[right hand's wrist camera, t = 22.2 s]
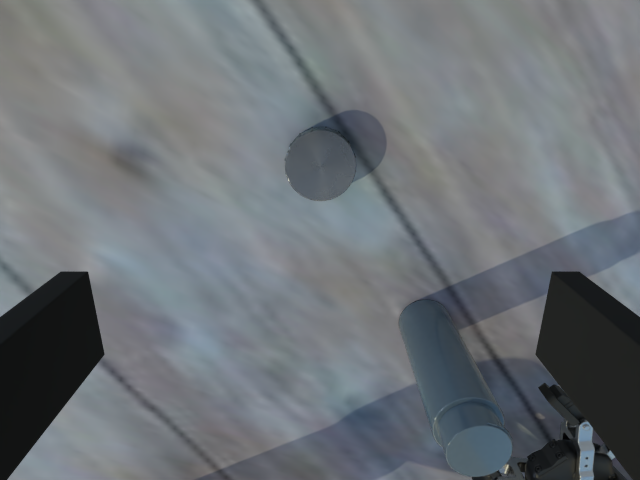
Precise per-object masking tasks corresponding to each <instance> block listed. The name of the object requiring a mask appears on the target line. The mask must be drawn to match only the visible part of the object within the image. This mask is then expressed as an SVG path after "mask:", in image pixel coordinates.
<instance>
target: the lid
mask: <svg viewBox="0 0 640 480" xmlns="http://www.w3.org/2000/svg"><path fill="white" fill-rule="evenodd" d="M289 147H290V148H289V151H288V153H287V156H286V158H285V171H286V175H287V178H288V181H289V183H290V184H291V186H292V187H293V188H294V190H295V191H296V192H298V193H299V194H300V195H302V196H303V197H305V198H308V199H311V200H315V201H326V200H331V199H333V198H336V197H338V196H339V195H341V194H342V193H343V192H345V191H346V190H347V188H348V187H349V186H350V184H351V183H352V181H353V179H354V176H355V172H356V160H355V158H356V156H355V154H354V153H353V150H352V148H351V146H350V142H349V141H347V140H346V139H345V137H344V136H342V135H341V134H340V132H339V131H338V132H337V131H335V130H332V129H329V128H327V127H325V128H324V127H317V128H313V127H312V128H311V129H309V130H306V131H304V132H303V133H300V134H299V136H298V137H297V138H295V140H294V141H293V142H292V143H291V144H290V146H289Z"/></svg>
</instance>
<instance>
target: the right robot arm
mask: <svg viewBox="0 0 640 480" xmlns="http://www.w3.org/2000/svg"><path fill="white" fill-rule="evenodd" d="M103 356H104V350H103V345H102V340H101V335H100V330H99V325H98V320H97V315H96V310H95V305H94V300H93V294H92V289H91V284H90V279H89V274H88V272H60V273H58V274H57V275H56V276H54V277H53V278H52V279H50V280H49V281H48V282H46V283H45V284H44V285H42V286H41V287H40V288H38V289H37V290H36V291H34V292H33V293H32V294H30V295H29V296H28V297H26V298H25V299H24V300H22V301H21V302H20V303H18V304H17V305H16V306H14V307H13V308H12V309H10V310H9V311H8V312H6V313H5V314H4V315H2V316H1V317H0V480H7V479H8V478H9V476H10V475H11V474H12V473H13V471H14V470H15V469H16V467H17V466H18V465H19V464H20V462H21V461H22V460H23V458H24V457H25V456H26V455H27V453H28V452H29V451H30V449H31V448H32V447H33V446H34V444H35V443H36V442H37V440H38V439H39V438H40V437H41V435H42V434H43V433H44V431H45V430H46V429H47V428H48V426H49V425H50V424H51V422H52V421H53V420H54V419H55V417H56V416H57V415H58V413H59V412H60V411H61V410H62V408H63V407H64V406H65V404H66V403H67V402H68V401H69V399H70V398H71V397H72V395H73V394H74V393H75V392H76V390H77V389H78V388H79V386H80V385H81V384H82V383H83V381H84V380H85V379H86V377H87V376H88V375H89V374H90V372H91V371H92V370H93V368H94V367H95V366H96V365H97V363H98V362H99V361H100V359H101V358H102V357H103ZM536 356H537V357H538V358H539V359H540V361H541V362H542V363H543V365H544V366H545V367H546V368H547V370H548V371H549V372H550V374H551V375H552V376H553V377H554V379H555V380H556V381H557V383H558V384H559V385H560V386H561V388H562V389H563V390H564V392H565V393H566V394H567V395H568V397H569V398H570V399H571V401H572V402H573V403H574V404H575V406H576V407H577V408H578V410H579V411H580V412H581V413H582V415H583V416H584V417H585V419H586V420H587V421H588V422H589V424H590V425H591V426H592V428H593V429H594V430H595V431H596V433H597V434H598V435H599V437H600V438H601V439H602V440H603V442H604V443H605V444H606V446H607V447H608V448H609V449H610V451H611V452H612V453H613V455H614V456H615V457H616V458H617V460H618V461H619V462H620V464H621V465H622V466H623V467H624V469H625V470H626V471H627V473H628V474H629V475H630V476H631V478H632V479H633V480H640V317H639V316H638V315H636V314H635V313H634V312H632V311H631V310H630V309H628V308H627V307H626V306H624V305H623V304H622V303H620V302H619V301H618V300H616V299H615V298H614V297H612V296H611V295H610V294H608V293H607V292H606V291H604V290H603V289H602V288H600V287H599V286H598V285H596V284H595V283H594V282H592V281H591V280H590V279H588V278H587V277H586V276H584V275H583V274H582V273H580V272H552V274H551V279H550V284H549V289H548V294H547V300H546V305H545V310H544V315H543V320H542V325H541V330H540V335H539V340H538V345H537V350H536Z"/></svg>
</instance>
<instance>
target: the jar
mask: <svg viewBox="0 0 640 480" xmlns="http://www.w3.org/2000/svg"><path fill="white" fill-rule="evenodd" d="M399 329H400V332H401V336H402V339H403V342H404V345H405V348H406V351H407V355H408V358H409V361H410V364H411V367H412V370H413V374H414V377H415V380H416V383H417V386H418V389H419V393H420V396H421V399H422V402H423V405H424V408H425V412H426V415H427V418H428V421H429V424H430V427H431V431H432V434H433V437H434V439H435V440H436V442H437V443H438V444H439V445H440V446H441V447H442V448H443V451H444V454H445V457H446V460H447V462H448V464H449V466H450V467H451V468H452V469H453V470H454V471H456V472H458V473H459V474H462V475H465V476H470V477H480V476H486V475H489V474H492V473H494V472H496V471H498V470H499V469H501V468H502V467H503V466H504V465H505V464H506V463H507V462H508V461H509V459H510V457H511V454H512V449H513V447H512V446H513V443H512V437H511V436H510V434H509V432H508V431H507V430H506V429H505V428H504V424H505V420H504V415H503V413H502V411H501V409H500V407H499V405H498V403H497V401H496V400H495V398H494V396H493V394H492V392H491V390H490V389H489V387H488V385H487V383H486V381H485V379H484V378H483V376H482V374H481V372H480V370H479V368H478V367H477V365H476V363H475V361H474V359H473V357H472V356H471V354H470V352H469V350H468V348H467V346H466V345H465V343H464V341H463V339H462V337H461V335H460V334H459V332H458V330H457V328H456V326H455V324H454V322H453V321H452V319H451V317H450V315H449V313H448V311H447V310H446V308H445V307H444V306H443V305H441V304H440V303H438V302H436V301H433V300H419V301H416V302H413V303H412V304H410V305H409V306H407V307H406V308H405V309H404V310H403V312H402V313H401V315H400V318H399Z"/></svg>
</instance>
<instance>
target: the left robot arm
mask: <svg viewBox="0 0 640 480" xmlns="http://www.w3.org/2000/svg"><path fill="white" fill-rule="evenodd" d="M538 388H539V389H540V391H541V392H542V394H543V395H544V396H545V398H546V399H547V401H548V402H549V403H550V404H551V405H552V406H553V407H554V408H555V409H556V410H557V411H558V412H559V413H560V414H561V415H562V416H563V417H564V422H561V428H560V440H557V441H556V440H555V439H553V440H552V441H550V442H549V443H547V444H546V445H545V446H544V447H543V448H542V449H541V450H539V451H536V452H534V453H532V454H531V455H529V456H528V457H527V458H528V459H524V458H515V457H510V459H509V461H508V462H507V463H506V464H505V465H504V466H503V467H502V468H501V469H499V470H498V471H496V472H494V473H492V474H489V475H486V476H480V477H472V480H627V479H626V478H625V477H624V476H623V475H622V474H621V473H620V472H619V471H618V470H616V469H615V468H614V467H613V466H612V459H614V458H616V457H615V456H614V455H613V453H612V452H611V451H610V449H609V448H608V447H607V446H606V444H605V443H604V444H603V445H602V446H600V445H598V444H595V443H592V436H593V428H592V426H591V425H590V424H589V422H588V421H587V420H586V419H585V417H584V416H583V415H582V413H581V412H580V411H579V410H578V408H577V407H576V406H575V404H574V403H573V402H572V401H571V399H570V398H569V397H568V395H567V394H566V393H565V392H564V391H563V390H562V389H561V388H560V387H559V386H556V385H552V386H551V387H549V386H548V385H547V384H546V383H544V384H543V385H541V386H540V387H538ZM521 472H525V479H524V477H523V475H522V473H521ZM501 473H503V474H506V475H507V476H508V477H504V476H501Z"/></svg>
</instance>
